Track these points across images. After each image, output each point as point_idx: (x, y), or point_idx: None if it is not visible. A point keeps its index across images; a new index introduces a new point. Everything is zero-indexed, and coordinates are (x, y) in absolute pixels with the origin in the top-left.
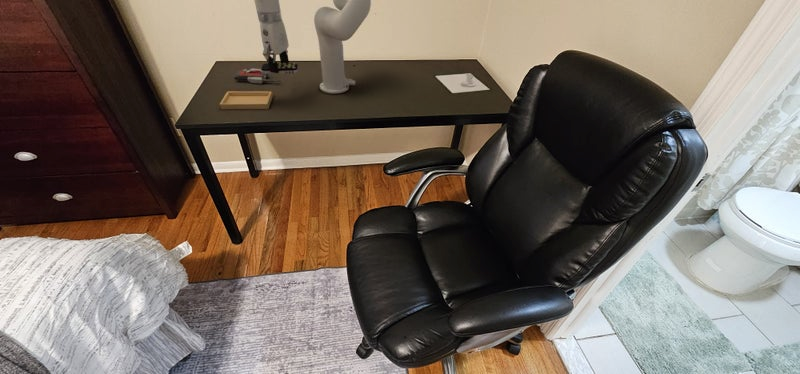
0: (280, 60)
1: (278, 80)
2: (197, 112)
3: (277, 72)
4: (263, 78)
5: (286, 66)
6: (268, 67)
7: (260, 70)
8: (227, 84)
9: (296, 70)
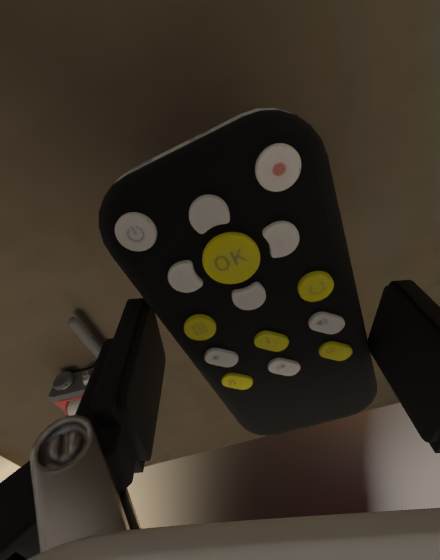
0: (159, 386)
1: (78, 326)
2: (376, 396)
3: (410, 288)
4: None
5: (264, 276)
6: (336, 389)
7: (76, 410)
8: (183, 424)
9: (281, 110)
